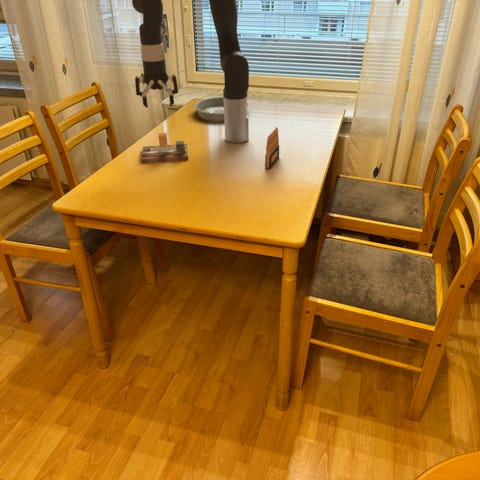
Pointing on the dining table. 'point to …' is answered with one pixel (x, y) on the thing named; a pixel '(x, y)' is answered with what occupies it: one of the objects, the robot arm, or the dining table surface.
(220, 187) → the dining table surface
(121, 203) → the dining table surface
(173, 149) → the brown slider base
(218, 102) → the cake pan
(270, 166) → the ammunition clip
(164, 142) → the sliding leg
